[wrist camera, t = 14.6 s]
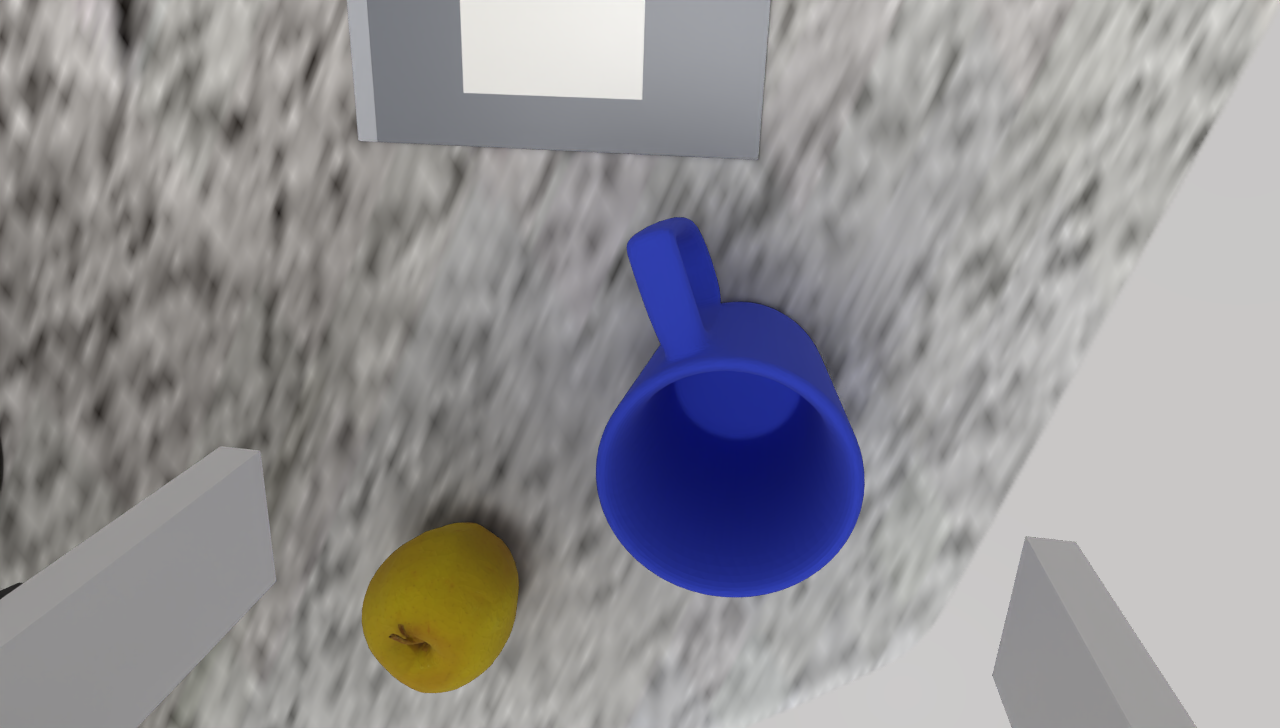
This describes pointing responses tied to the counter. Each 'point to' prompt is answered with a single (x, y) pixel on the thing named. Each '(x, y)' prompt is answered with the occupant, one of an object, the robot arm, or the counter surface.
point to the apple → (442, 607)
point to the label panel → (562, 74)
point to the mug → (725, 436)
